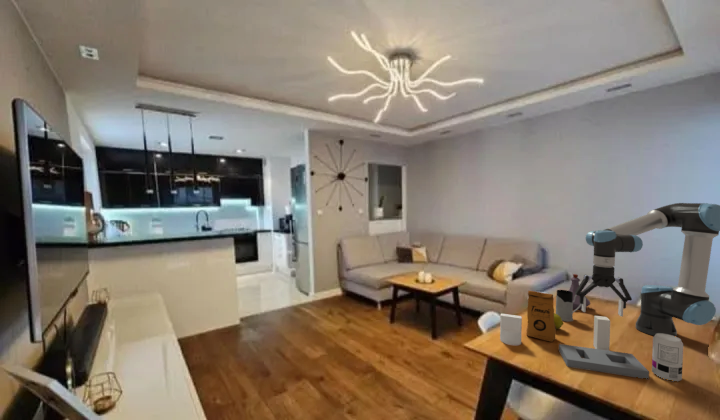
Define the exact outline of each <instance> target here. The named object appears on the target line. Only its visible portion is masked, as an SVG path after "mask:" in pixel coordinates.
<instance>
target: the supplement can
mask: <svg viewBox="0 0 720 420" xmlns="http://www.w3.org/2000/svg"><path fill="white" fill-rule="evenodd" d="M651 357H652V359H651V372H652V373H653V374H654V375H655V374H656V375H657V376H656V375H655V376H656V377H658V376H659V377H658V378H660V377H661V378H660V379H662V378H664V379H663V380H665V379H668V380H673V381H672V382H674V381H677V382H679V381H682V380H683V362H684V343H683V342H682V339H681V338H679V337H677V336H676V337H675V336H672V335H669V334H663V333H657V334H655V336H654V335H653V337H652V356H651ZM668 380H667V381H668Z"/></svg>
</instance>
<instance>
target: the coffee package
mask: <svg viewBox="0 0 720 420" xmlns="http://www.w3.org/2000/svg"><path fill="white" fill-rule="evenodd" d="M527 296H528V297H527V308H526V309H527V310H526V311H527V313H526V314H527V324H526V325H527V327H526V331H525V332H526V336H527V337H531V338H535V339H538V340H542V341H545V342H546V341H547V342H551V343H554V340H556V335H557V334H556V332H557V331H556V330H557V329H556V326H555V323H554V313H555V308H554V295H553V293H546V292H539V291H533V290H528V291H527Z"/></svg>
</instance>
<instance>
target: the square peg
mask: <svg viewBox="0 0 720 420" xmlns="http://www.w3.org/2000/svg"><path fill="white" fill-rule="evenodd" d="M593 318H594V319H593V347H594V349H600V350H607V351H610V340H611V320H610V319H609V318H608V317H607V316H600V315H594V317H593Z"/></svg>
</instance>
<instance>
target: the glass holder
mask: <svg viewBox="0 0 720 420" xmlns="http://www.w3.org/2000/svg"><path fill="white" fill-rule="evenodd" d="M576 296H577V295H575V297H574V301H575V298H576ZM555 297H556V298H555V314H557V315H559V316H560V317H561V319H562V322H574V318H573V316H574V315H573V314H574V313H575V312H576V311H579V310H578V309H579V308H580V307H581V305H582V304H580V306H579V307H578V308H577V309H573V302H574V301H573V292H571V291H568V290H567V289H557V290H556V295H555Z"/></svg>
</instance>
